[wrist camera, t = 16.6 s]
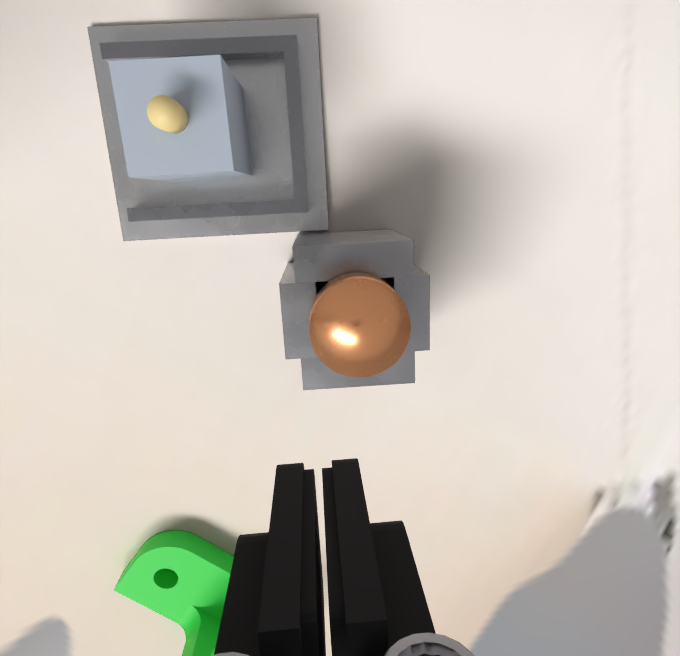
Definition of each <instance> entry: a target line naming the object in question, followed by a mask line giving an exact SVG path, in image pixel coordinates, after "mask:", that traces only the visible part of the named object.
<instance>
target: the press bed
mask: <svg viewBox="0 0 680 656" xmlns="http://www.w3.org/2000/svg"><path fill="white" fill-rule="evenodd" d="M88 33H89V39H90V45H91V51H92V57H93V63H94V69H95V75H96V81H97V87H98V93H99V99H100V105H101V110H102V116H103V122H104V128H105V134H106V140H107V146H108V152H109V158H110V164H111V170H112V176H113V182H114V188H115V194H116V200H117V205H118V211H119V217H120V223H121V229H122V235H123V241H132V240H150V239H168V238H186V237H204V236H223V235H241V234H259V233H277V232H295V231H314V230H329V224H328V206H327V188H326V171H325V153H324V135H323V117H322V99H321V81H320V63H319V45H318V27H317V17H315V18H290V19H266V20H241V21H216V22H191V23H167V24H142V25H117V26H92V27H88ZM204 55H221V57H222V58H223V60H224V61H225V62H226V64H227V65H228V67H229V68H230V70H231V71H232V73H233V74H234V76H235V77H236V79H237V80H238V81H239V83H240V84H241V86H242V87H243V96H244V105H245V115H246V124H247V133H248V142H249V152H250V161H251V170H252V176H241V177H226V178H211V179H195V180H180V181H164V180H152V179H141V178H129V177H128V172H127V166H126V160H125V155H124V149H123V143H122V137H121V132H120V126H119V120H118V114H117V108H116V103H115V97H114V91H113V85H112V80H111V74H110V68H109V62H108V61H118V60H136V59H153V58H170V57H187V56H204Z"/></svg>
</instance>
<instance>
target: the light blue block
mask: <svg viewBox="0 0 680 656" xmlns="http://www.w3.org/2000/svg"><path fill="white" fill-rule="evenodd" d="M108 62H109V68H110V74H111V80H112V85H113V91H114V97H115V103H116V108H117V114H118V120H119V126H120V132H121V137H122V143H123V149H124V155H125V160H126V166H127V172H128V177H129V178H141V179H152V180H164V181H180V180H195V179H211V178H226V177H241V176H252V170H251V161H250V152H249V142H248V133H247V124H246V115H245V105H244V96H243V87H242V86H241V84H240V83H239V81H238V80H237V79H236V77H235V76H234V74H233V73H232V71H231V70H230V68H229V67H228V65H227V64H226V62H225V61H224V60H223V58H222V57H221V55H204V56H187V57H170V58H153V59H136V60H118V61H108Z"/></svg>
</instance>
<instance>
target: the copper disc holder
mask: <svg viewBox="0 0 680 656" xmlns="http://www.w3.org/2000/svg"><path fill="white" fill-rule="evenodd" d="M292 248H293V261H294V262H291V263H287V266H286V268H285V271H284V273H283V276H282V278H281V281H280V283H279V287H280V299H281V311H282V322H283V334H284V346H285V358H286V359H298V358H301V366H302V379H303V390H313V389H329V388H344V387H359V386H374V385H389V384H404V383H415V351H423V350H430V275H429V274H427V273H426V272H424V271H423V270H422V269H420V268H419V267H417V266H416V265H415V264H414V242H413V240H412V239H410V238H408V237H406V236H404V235H402V234H400V233H397V232H395V231H393V230H391V229H383V230H365V231H347V232H328V233H310V234H298V235H297V238H296V240H295V242H294V244H293V247H292ZM354 272H362V273H368V274H372V275H375V276H377V277H379V278H381V279H383V280H384V281H386V282H387V283H388V284H389V285H390V286H391V287H392V288H393V289H394V290H395V291H396V293H397V294H398V295H399V296H400V298H401V299H402V300H403V302H404V303H405V305H406V307H407V310H408V312H409V316H410V321H411V333H410V339H409V342H408V345H407V347H406V349H405V351H404V353H403V354H402V356H401V357H400V358H399V359H398V361H397V362H396V363H395V364H393V365H392V366H391V367H390V368H388V369H387V370H385V371H383V372H381V373H379V374H376V375H373V376H369V377H349V376H345V375H342V374H339V373H337V372H335V371H333V370H331V369H330V368H328V367H327V366H326V365H325V364H324V363H323V362H322V361H321V360H320V359H319V358H318V356H317V355H316V353H315V351H314V349H313V347H312V344H311V340H310V335H309V321H310V310H311V307H312V303H313V301H314V299H315V297H316V295H317V282H320V281H331V280H332V279H334V278H336V277H338V276H341V275H343V274H347V273H354Z"/></svg>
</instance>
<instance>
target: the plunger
mask: <svg viewBox="0 0 680 656" xmlns="http://www.w3.org/2000/svg"><path fill="white" fill-rule="evenodd" d="M410 333H411V321H410V316H409V312H408V310H407V307H406V305H405V303H404V302H403V300H402V299H401V298H400V296H399V295H398V294H397V293H396V291H395V290H394V289H393V288H392V287H391V286H390V285H389V284H388V283H387V282H386V281H384V280H383V279H381V278H379V277H377V276H375V275H372V274H368V273H362V272H354V273H347V274H343V275H341V276H338V277H336V278H334V279H332V280H331V281H329V282H328V283H327V284H325V285H324V286H323V287H322V288H321V290H320V291H319V292H318V294H317V295H316V297H315V299H314V301H313V303H312V307H311V310H310V321H309V335H310V340H311V344H312V347H313V349H314V351H315V353H316V355H317V356H318V358H319V359H320V360H321V361H322V362H323V363H324V364H325V365H326V366H327V367H328V368H330V369H331V370H333V371H335V372H337V373H339V374H342V375H345V376H349V377H369V376H373V375H376V374H379V373H381V372H383V371H385V370H387V369H388V368H390V367H391V366H392V365H393V364H395V363H396V362H397V361H398V359H399V358H400V357H401V356H402V354H403V353H404V351H405V349H406V347H407V345H408V342H409V339H410Z"/></svg>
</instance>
